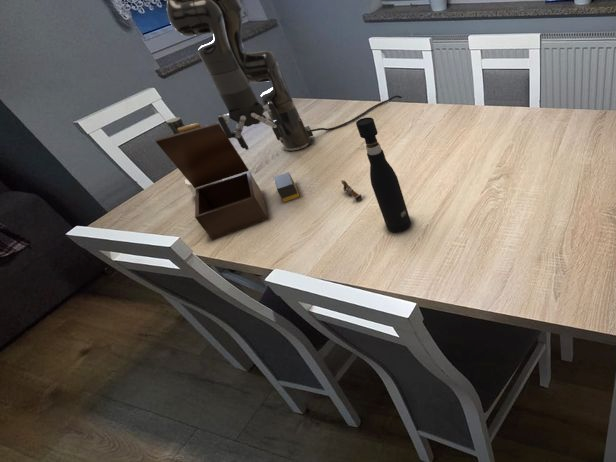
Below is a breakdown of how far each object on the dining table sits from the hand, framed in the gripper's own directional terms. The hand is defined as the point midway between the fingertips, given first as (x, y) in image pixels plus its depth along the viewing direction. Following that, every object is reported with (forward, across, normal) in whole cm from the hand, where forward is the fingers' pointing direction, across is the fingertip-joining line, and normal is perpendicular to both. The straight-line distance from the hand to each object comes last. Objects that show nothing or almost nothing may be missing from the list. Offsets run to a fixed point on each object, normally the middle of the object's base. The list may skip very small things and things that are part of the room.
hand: (263, 143), depth 113 cm
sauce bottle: (+17, -23, +33) cm, 44 cm away
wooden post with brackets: (+17, +16, -15) cm, 28 cm away
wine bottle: (+18, +23, -37) cm, 47 cm away
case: (+17, -15, -2) cm, 23 cm away
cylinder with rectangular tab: (+17, -22, +18) cm, 33 cm away
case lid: (0, -15, +4) cm, 15 cm away
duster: (+17, 0, 0) cm, 17 cm away
